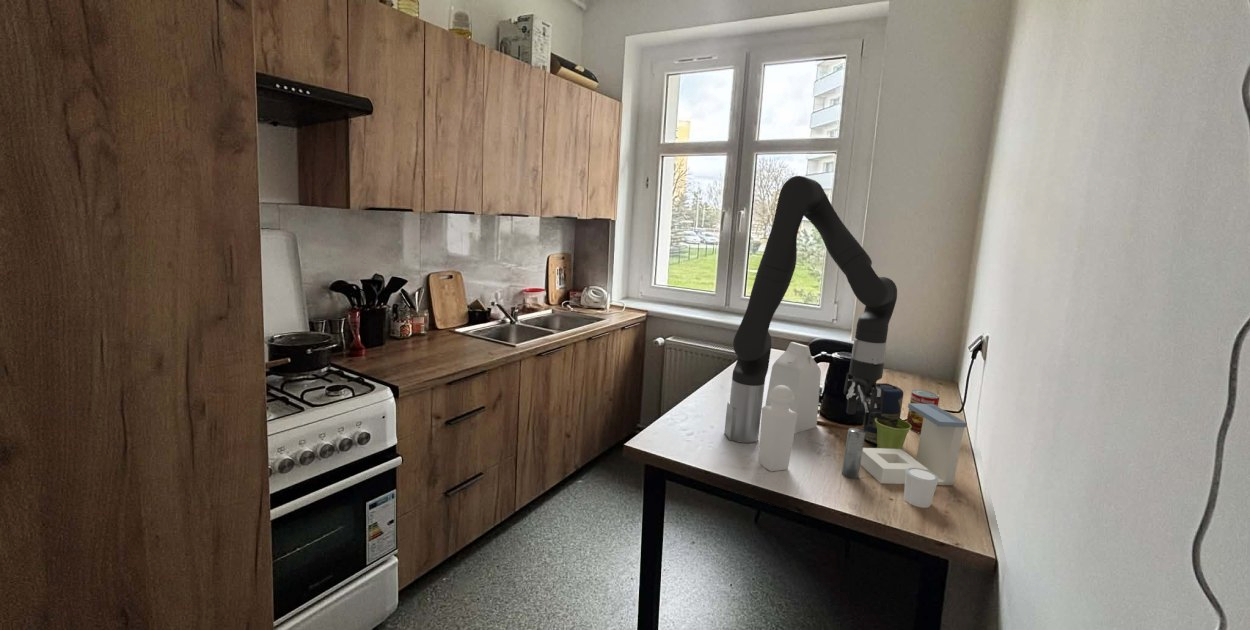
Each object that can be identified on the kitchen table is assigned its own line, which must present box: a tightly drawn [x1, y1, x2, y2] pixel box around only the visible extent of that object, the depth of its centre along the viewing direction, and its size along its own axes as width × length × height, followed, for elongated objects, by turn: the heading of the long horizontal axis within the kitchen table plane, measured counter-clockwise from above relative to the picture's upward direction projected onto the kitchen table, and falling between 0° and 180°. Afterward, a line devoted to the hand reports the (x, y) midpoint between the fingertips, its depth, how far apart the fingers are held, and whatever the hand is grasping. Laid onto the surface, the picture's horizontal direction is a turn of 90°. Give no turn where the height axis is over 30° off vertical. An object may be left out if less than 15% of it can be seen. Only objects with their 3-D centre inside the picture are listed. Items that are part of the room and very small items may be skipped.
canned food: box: [905, 389, 940, 434], centre depth 171 cm, size 8×8×12 cm
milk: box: [764, 341, 822, 434], centre depth 167 cm, size 12×12×26 cm
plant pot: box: [875, 418, 912, 450], centre depth 153 cm, size 9×9×9 cm
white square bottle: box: [757, 385, 797, 472], centre depth 137 cm, size 6×6×22 cm
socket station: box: [860, 402, 967, 486], centre depth 138 cm, size 19×13×17 cm
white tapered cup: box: [903, 468, 938, 509], centre depth 125 cm, size 7×7×7 cm
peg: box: [841, 427, 866, 480], centre depth 136 cm, size 4×4×12 cm
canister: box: [862, 382, 904, 445], centre depth 158 cm, size 10×10×18 cm
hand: (859, 420), depth 134 cm, fingers open, 8 cm apart
